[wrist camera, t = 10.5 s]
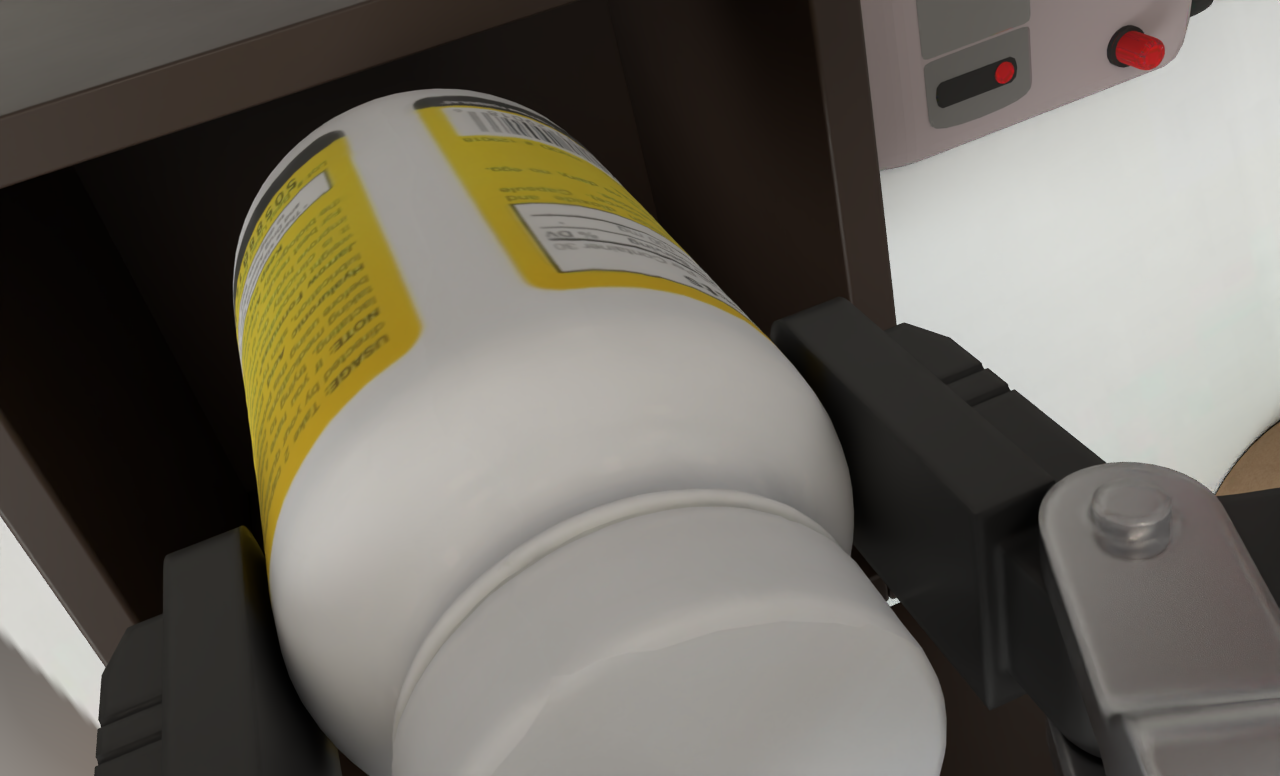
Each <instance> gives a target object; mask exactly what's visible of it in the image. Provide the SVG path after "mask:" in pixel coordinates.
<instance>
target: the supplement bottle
mask: <svg viewBox="0 0 1280 776" xmlns="http://www.w3.org/2000/svg"><path fill="white" fill-rule="evenodd" d="M233 302H234V316H235V327H236V333H237V342H238V349H239V355H240V361H241V368H242V374H243V380H244V387H245V393H246V403H247V409H248V419H249V426H250V433H251V439H252V448H253V458H254V467H255V472H256V479H257V488H258V496H259V505H260V515H261V523H262V532H263V543H264V552H265V559H266V569H267V578H268V588H269V596H270V602H271V607H272V612H273V616H274V621H275V626H276V630H277V635H278V640H279V644H280V649H281V653H282V656H283V659H284V662H285V665H286V669H287V672H288V675H289V677H290V679H291V681H292V684H293V686H294V688H295V690H296V692H297V694H298V696H299V698H300V700H301V702H302V703H303V705H304V706H305V708H306V709H307V711H308V712H309V713H310V715H311V716H312V718H313V719H314V721H315V722H316V723H317V725H318V726H319V728H320V729H321V730H322V731H323V732H324V734H325V735H326V736H327V737H328V738H329V739H330V741H331V742H332V743H333V744H334V745H335V746H336V747H337V748H338V749H339V750H340V751H341V752H342V753H343V754H344V755H345V756H346V757H347V758H348V759H349V760H350V761H351V762H353V763H354V764H355V765H356V766H357V767H359V768H360V769H361V770H363V771H364V772H365V773H366V774H368V775H369V776H940V772H941V768H942V764H943V760H944V755H945V749H946V726H947V717H946V709H945V701H944V696H943V693H942V689H941V686H940V683H939V680H938V677H937V675H936V673H935V671H934V669H933V667H932V665H931V663H930V662H929V660H928V658H927V656H926V654H925V652H924V651H923V649H922V647H921V646H920V645H919V644H918V642H917V641H916V640H915V639H914V637H913V636H912V635H911V634H910V632H909V631H908V630H907V629H906V627H905V626H904V625H903V624H902V622H901V621H900V620H899V618H898V617H897V616H896V614H895V613H894V612H893V610H892V609H891V608H890V606H889V605H888V603H887V602H886V601H885V599H884V598H883V597H882V595H881V594H880V593H879V592H878V590H877V589H876V588H875V586H874V585H873V584H872V583H871V581H870V580H869V579H868V577H867V576H866V575H865V573H864V572H863V571H862V569H861V568H860V567H859V565H858V564H857V563H856V562H855V561H854V560H853V559H852V558H851V550H852V544H853V532H854V505H853V492H852V484H851V479H850V473H849V468H848V465H847V462H846V458H845V455H844V452H843V449H842V445H841V443H840V441H839V438H838V436H837V433H836V431H835V428H834V426H833V423H832V421H831V419H830V417H829V415H828V413H827V412H826V410H825V408H824V407H823V405H822V403H821V402H820V400H819V399H818V397H817V396H816V394H815V392H814V391H813V390H812V388H811V387H810V386H809V385H808V383H807V382H806V381H805V379H804V378H803V377H802V376H801V374H800V373H799V372H798V371H797V369H796V368H795V367H794V365H793V364H792V363H791V362H790V361H789V360H788V359H787V358H786V356H785V355H784V354H783V353H782V352H781V351H780V350H779V349H778V348H777V346H776V345H775V344H774V343H773V342H772V341H771V340H770V339H769V338H768V337H767V336H766V335H765V334H764V333H763V332H762V331H761V330H760V329H759V328H758V327H757V326H756V325H755V324H754V323H753V322H752V321H751V320H750V319H749V318H748V317H747V315H746V314H745V313H744V312H743V311H742V310H741V309H740V308H739V307H738V306H737V305H736V304H735V303H734V302H733V301H732V300H731V299H730V298H729V297H728V296H727V295H726V294H725V293H724V292H723V291H722V290H721V289H720V288H719V286H718V285H717V284H716V283H715V282H714V281H713V280H712V279H711V278H710V277H709V276H708V275H707V273H705V272H704V271H703V270H702V269H701V268H700V267H699V266H698V264H697V263H696V262H695V261H694V260H693V259H692V258H691V257H690V256H689V255H688V254H687V253H686V252H685V251H684V249H683V248H682V247H681V246H680V245H679V244H678V243H677V242H676V241H675V240H674V239H673V238H672V237H671V236H670V235H669V234H668V233H667V232H666V231H665V230H664V229H663V228H662V227H661V225H660V224H659V223H658V222H657V221H656V220H655V219H654V218H653V217H652V216H651V215H650V214H649V213H648V212H647V211H646V210H645V209H644V208H643V206H642V205H641V204H640V203H639V202H638V201H637V200H636V199H635V198H634V197H633V196H632V195H631V194H630V193H629V192H628V191H627V190H626V189H625V188H624V187H623V186H622V185H621V184H620V183H619V181H618V180H617V179H616V178H615V177H613V175H612V174H611V173H610V172H609V171H608V170H607V169H606V168H605V167H604V166H603V165H602V164H601V163H600V162H599V161H598V159H597V158H596V157H595V156H594V155H593V154H592V153H591V152H590V151H589V150H587V149H586V148H585V147H584V146H583V145H582V144H581V143H580V142H578V141H577V140H576V139H575V138H573V137H572V136H571V135H569V134H568V133H567V132H566V131H564V130H563V129H562V128H560V127H559V126H557V125H556V124H554V123H553V122H552V121H550V120H549V119H547V118H546V117H544V116H542V115H541V114H539V113H537V112H535V111H533V110H531V109H529V108H527V107H524V106H522V105H520V104H517V103H515V102H512V101H509V100H506V99H503V98H500V97H497V96H493V95H490V94H485V93H480V92H475V91H470V90H460V89H425V90H415V91H408V92H402V93H396V94H392V95H388V96H385V97H381V98H378V99H374V100H372V101H369V102H366V103H364V104H362V105H359V106H357V107H354V108H352V109H350V110H348V111H346V112H344V113H342V114H340V115H338V116H336V117H334V118H333V119H331V120H329V121H328V122H326V123H324V124H323V125H322V126H320V127H319V128H317V129H316V130H314V131H313V132H312V133H310V134H309V135H308V136H307V137H305V138H304V139H303V140H302V141H301V142H299V143H298V144H297V145H296V146H295V147H294V148H293V149H292V150H291V151H290V152H289V153H288V154H287V155H286V156H285V157H284V158H283V159H282V160H281V162H280V163H279V164H278V165H277V166H276V168H275V169H274V170H273V171H272V172H271V174H270V175H269V177H268V178H267V179H266V181H265V182H264V184H263V185H262V187H261V189H260V190H259V192H258V194H257V196H256V197H255V199H254V201H253V203H252V205H251V207H250V210H249V212H248V214H247V216H246V219H245V221H244V224H243V227H242V231H241V234H240V237H239V241H238V246H237V250H236V256H235V265H234V277H233Z"/></svg>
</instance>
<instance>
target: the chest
mask: <svg viewBox="0 0 1280 776" xmlns="http://www.w3.org/2000/svg"><path fill="white" fill-rule="evenodd" d="M425 89H460V90H470V91H475V92H480V93H485V94H490V95H493V96H497V97H500V98H503V99H506V100H509V101H512V102H515V103H517V104H520V105H522V106H524V107H527V108H529V109H531V110H533V111H535V112H537V113H539V114H541V115H542V116H544V117H546V118H547V119H549V120H550V121H552V122H553V123H554V124H556V125H557V126H559V127H560V128H562V129H563V130H564V131H566V132H567V133H568V134H569V135H571V136H572V137H573V138H575V139H576V140H577V141H578V142H580V143H581V144H582V145H583V146H584V147H585V148H586V149H587V150H589V151H590V152H591V153H592V154H593V155H594V156H595V157H596V158H597V159H598V161H599V162H600V163H601V164H602V165H603V166H604V167H605V168H606V169H607V170H608V171H609V172H610V173H611V174H612V175H613V177H615V178H616V179H617V180H618V181H619V183H620V184H621V185H622V186H623V187H624V188H625V189H626V190H627V191H628V192H629V193H630V194H631V195H632V196H633V197H634V198H635V199H636V200H637V201H638V202H639V203H640V204H641V205H642V206H643V208H644V209H645V210H646V211H647V212H648V213H649V214H650V215H651V216H652V217H653V218H654V219H655V220H656V221H657V222H658V223H659V224H660V225H661V227H662V228H663V229H664V230H665V231H666V232H667V233H668V234H669V235H670V236H671V237H672V238H673V239H674V240H675V241H676V242H677V243H678V244H679V245H680V246H681V247H682V248H683V249H684V251H685V252H686V253H687V254H688V255H689V256H690V257H691V258H692V259H693V260H694V261H695V262H696V263H697V264H698V266H699V267H700V268H701V269H702V270H703V271H704V272H705V273H707V275H708V276H709V277H710V278H711V279H712V280H713V281H714V282H715V283H716V284H717V285H718V286H719V288H720V289H721V290H722V291H723V292H724V293H725V294H726V295H727V296H728V297H729V298H730V299H731V300H732V301H733V302H734V303H735V304H736V305H737V306H738V307H739V308H740V309H741V310H742V311H743V312H744V313H745V314H746V315H747V317H748V318H749V319H750V320H751V321H752V322H753V323H754V324H755V325H756V326H757V327H758V328H759V329H760V330H761V331H762V332H763V333H764V334H765V335H766V336H767V337H768V338H769V339H770V340H771V326H772V324H773V322H774V321H777V320H779V319H782V318H784V317H787V316H790V315H792V314H795V313H797V312H800V311H803V310H805V309H808V308H810V307H813V306H815V305H818V304H821V303H823V302H826V301H828V300H831V299H834V298H836V297H843V298H845V299H847V300H848V301H850V302H851V303H852V304H853V305H854V306H855V307H856V308H858V309H859V310H860V311H861V312H862V313H863V314H865V315H866V316H867V317H868V318H869V319H870V320H871V321H873V322H874V323H875V324H876V325H877V326H878V327H880V328H881V329H882V330H883V331H884V330H887V329H889V328H892V327H894V326H897V324H896V315H895V306H894V297H893V288H892V279H891V271H890V262H889V253H888V244H887V235H886V226H885V217H884V208H883V199H882V190H881V181H880V172H879V163H878V154H877V145H876V136H875V127H874V118H873V109H872V100H871V91H870V82H869V73H868V64H867V55H866V46H865V37H864V28H863V19H862V10H861V1H860V0H0V516H1V518H2V519H3V520H4V522H5V523H6V525H7V526H8V528H9V529H10V531H11V532H12V533H13V535H14V536H15V538H16V539H17V541H18V542H19V543H20V545H21V546H22V548H23V549H24V551H25V552H26V554H27V555H28V556H29V558H30V559H31V561H32V562H33V564H34V565H35V566H36V568H37V569H38V571H39V572H40V574H41V575H42V576H43V578H44V579H45V581H46V582H47V584H48V585H49V587H50V588H51V589H52V591H53V592H54V594H55V595H56V597H57V598H58V599H59V601H60V602H61V604H62V605H63V607H64V608H65V610H66V611H67V612H68V614H69V615H70V617H71V618H72V620H73V621H74V622H75V624H76V625H77V627H78V628H79V630H80V631H81V633H82V634H83V635H84V637H85V638H86V640H87V641H88V643H89V644H90V645H91V647H92V648H93V650H94V651H95V653H96V654H97V656H98V657H99V658H100V660H101V661H102V663H103V664H104V666H105V667H106V666H107V664H108V663H109V661H110V659H111V657H112V655H113V653H114V651H115V650H116V648H117V646H118V644H119V642H120V640H121V638H122V637H123V635H124V633H125V631H126V629H127V628H128V627H130V626H133V625H135V624H138V623H140V622H143V621H145V620H148V619H150V618H153V617H156V616H158V615H161V614H163V565H164V559H165V556H166V555H168V554H170V553H173V552H175V551H178V550H181V549H183V548H186V547H188V546H191V545H193V544H196V543H199V542H201V541H204V540H206V539H209V538H212V537H214V536H217V535H219V534H222V533H224V532H227V531H230V530H232V529H235V528H237V527H240V526H245V527H246V528H247V529H248V530H249V531H250V532H251V533H252V535H253V536H254V538H255V540H256V541H257V543H258V545H259V547H260V548H261V550H262V552H263V554H264V556H265V552H264V543H263V532H262V523H261V515H260V505H259V496H258V488H257V479H256V472H255V467H254V458H253V448H252V439H251V433H250V426H249V419H248V409H247V403H246V393H245V387H244V380H243V374H242V368H241V361H240V355H239V349H238V342H237V333H236V327H235V316H234V302H233V277H234V265H235V256H236V250H237V246H238V241H239V237H240V234H241V231H242V227H243V224H244V221H245V219H246V216H247V214H248V212H249V210H250V207H251V205H252V203H253V201H254V199H255V197H256V196H257V194H258V192H259V190H260V189H261V187H262V185H263V184H264V182H265V181H266V179H267V178H268V177H269V175H270V174H271V172H272V171H273V170H274V169H275V168H276V166H277V165H278V164H279V163H280V162H281V160H282V159H283V158H284V157H285V156H286V155H287V154H288V153H289V152H290V151H291V150H292V149H293V148H294V147H295V146H296V145H297V144H298V143H299V142H301V141H302V140H303V139H304V138H305V137H307V136H308V135H309V134H310V133H312V132H313V131H314V130H316V129H317V128H319V127H320V126H322V125H323V124H324V123H326V122H328V121H329V120H331V119H333V118H334V117H336V116H338V115H340V114H342V113H344V112H346V111H348V110H350V109H352V108H354V107H357V106H359V105H362V104H364V103H366V102H369V101H372V100H374V99H378V98H381V97H385V96H388V95H392V94H396V93H402V92H408V91H415V90H425ZM851 558H852V559H853V560H854V561H855V562H856V563H857V564H858V565H859V567H860V568H861V569H862V571H863V572H864V573H865V575H866V576H867V577H868V579H869V580H870V581H871V583H872V584H873V585H874V586H875V588H876V589H877V590H878V592H879V593H880V594H881V595H882V597H883V598H884V599H885V601H888V599H889V597H890V598H891V599H895V598H897V597H896V596H895V595H894V594H893V592H892V591H891V590H890V589H889V587H888V586H887V585H886V584H885V583H884V581H883V580H882V579H881V578H880V576H879V575H878V574H877V573H876V572H875V570H874V569H873V568H872V567H871V565H870V564H869V563H868V562H867V561H866V559H865V558H864V557H863V556H862V555H861V553H860V552H859V551H858V550H857V548H856V547H855V546H854V545H853V544H852V550H851ZM338 753H339V759H340V765H341V771H342V776H369V775H368V774H366V773H365V772H364V771H363V770H361V769H360V768H359V767H357V766H356V765H355V764H354V763H353V762H351V761H350V760H349V759H348V758H347V757H346V756H345V755H344V754H343V753H342V752H341V751H340V750H339V749H338Z"/></svg>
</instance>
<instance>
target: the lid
mask: <svg viewBox="0 0 1280 776" xmlns="http://www.w3.org/2000/svg"><path fill="white" fill-rule="evenodd" d="M890 608H891V609H892V610H893V612H894V613H895V614H896V616H897V617H898V618H899V620H900V621H901V622H902V624H903V625H904V626H905V627H906V629H907V630H908V631H909V632H910V634H911V635H912V636H913V637H914V639H915V640H916V641H917V642H918V644H919V645H920V646H921V647H922V649H923V651H924V652H925V654H926V656H927V658H928V660H929V662H930V663H931V665H932V667H933V669H934V671H935V673H936V675H937V677H938V680H939V683H940V686H941V689H942V693H943V696H944V701H945V709H946V717H947V726H946V749H945V755H944V760H943V764H942V768H941V772H940V776H1056V774H1055V771H1054V767H1053V764H1052V760H1051V757H1050V753H1049V750H1048V745H1047V739H1046V716H1045V714H1044V712H1043V711H1042V710H1041V709H1040V708H1039V707H1038V706H1037V704H1036V703H1035V702H1034V701H1033V700H1032V699H1031V698H1030V696H1029V695H1028V694H1025V695H1023V696H1021V697H1019V698H1017V699H1015V700H1012V701H1010V702H1008V703H1006V704H1004V705H1002V706H999V707H997V708H995V709H993V710H991V711H989V709H988V708H987V707H986V706H985V704H984V703H983V702H982V701H981V700H980V698H979V697H978V696H977V695H976V693H975V692H974V691H973V690H972V689H971V687H970V686H969V685H968V684H967V683H966V681H965V680H964V679H963V678H962V676H961V675H960V674H959V673H958V672H957V670H956V669H955V668H954V667H953V665H952V664H951V663H950V662H949V661H948V659H947V658H946V657H945V656H944V654H943V653H942V652H941V651H940V650H939V648H938V647H937V646H936V645H935V644H934V642H933V641H932V640H931V639H930V637H929V636H928V635H927V634H926V633H925V631H924V630H923V629H922V628H921V626H920V625H919V624H918V623H917V622H916V620H915V619H914V618H913V617H912V615H911V614H910V613H909V612H908V611H907V609H906V608H905V607H904V606H903V604H902V603H901V602H900V603H898V604H895V605H893V606H891V607H890Z"/></svg>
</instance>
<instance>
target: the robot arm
mask: <svg viewBox="0 0 1280 776" xmlns="http://www.w3.org/2000/svg"><path fill="white" fill-rule="evenodd" d="M771 341H772V342H773V343H774V344H775V345H776V346H777V348H778V349H779V350H780V351H781V352H782V353H783V354H784V355H785V356H786V358H787V359H788V360H789V361H790V362H791V363H792V364H793V365H794V367H795V368H796V369H797V371H798V372H799V373H800V374H801V376H802V377H803V378H804V379H805V381H806V382H807V383H808V385H809V386H810V387H811V388H812V390H813V391H814V392H815V394H816V396H817V397H818V399H819V400H820V402H821V403H822V405H823V407H824V408H825V410H826V412H827V413H828V415H829V417H830V419H831V421H832V423H833V426H834V428H835V431H836V433H837V436H838V438H839V441H840V443H841V445H842V449H843V452H844V455H845V458H846V462H847V465H848V468H849V473H850V479H851V484H852V492H853V505H854V532H853V545H854V546H855V547H856V548H857V550H858V551H859V552H860V553H861V555H862V556H863V557H864V558H865V559H866V561H867V562H868V563H869V564H870V565H871V567H872V568H873V569H874V570H875V572H876V573H877V574H878V575H879V576H880V578H881V579H882V580H883V581H884V583H885V584H886V585H887V586H888V587H889V589H890V590H891V591H892V592H893V594H894V595H895V596H896V597H897V598H898V600H899V601H900V602H901V603H902V604H903V606H904V607H905V608H906V609H907V611H908V612H909V613H910V614H911V615H912V617H913V618H914V619H915V620H916V622H917V623H918V624H919V625H920V626H921V628H922V629H923V630H924V631H925V633H926V634H927V635H928V636H929V637H930V639H931V640H932V641H933V642H934V644H935V645H936V646H937V647H938V648H939V650H940V651H941V652H942V653H943V654H944V656H945V657H946V658H947V659H948V661H949V662H950V663H951V664H952V665H953V667H954V668H955V669H956V670H957V672H958V673H959V674H960V675H961V676H962V678H963V679H964V680H965V681H966V683H967V684H968V685H969V686H970V687H971V689H972V690H973V691H974V692H975V693H976V695H977V696H978V697H979V698H980V700H981V701H982V702H983V703H984V704H985V706H986V707H987V708H988V709H989V711H991V710H993V709H995V708H997V707H999V706H1002V705H1004V704H1006V703H1008V702H1010V701H1012V700H1015V699H1017V698H1019V697H1021V696H1023V695H1025V694H1028V695H1029V696H1030V698H1031V699H1032V700H1033V701H1034V702H1035V703H1036V704H1037V706H1038V707H1039V708H1040V709H1041V710H1042V711H1043V712H1044V714H1045V716H1046V739H1047V745H1048V750H1049V753H1050V757H1051V760H1052V764H1053V767H1054V771H1055V774H1056V776H1280V487H1279V488H1273V489H1266V490H1260V491H1253V492H1247V493H1241V494H1232V495H1223V496H1215V495H1214V494H1213V493H1212V492H1211V491H1210V490H1209V489H1208V488H1207V487H1205V486H1204V485H1202V484H1201V483H1200V482H1198V481H1197V480H1195V479H1193V478H1191V477H1189V476H1187V475H1185V474H1183V473H1180V472H1178V471H1175V470H1172V469H1169V468H1166V467H1161V466H1157V465H1153V464H1145V463H1136V462H1117V463H1106V462H1105V461H1103V460H1102V459H1101V458H1100V457H1098V456H1097V455H1096V454H1095V453H1093V452H1092V451H1091V450H1090V449H1088V448H1087V447H1086V446H1085V445H1083V444H1082V443H1081V442H1080V441H1078V440H1077V439H1076V438H1075V437H1073V436H1072V435H1071V434H1070V433H1068V432H1067V431H1066V430H1065V429H1063V428H1062V427H1061V426H1060V425H1058V424H1057V423H1056V422H1055V421H1053V420H1052V419H1051V418H1050V417H1048V416H1047V415H1046V414H1045V413H1043V412H1042V411H1041V410H1040V409H1038V408H1037V407H1036V406H1035V405H1033V404H1032V403H1031V402H1030V401H1028V400H1027V399H1026V398H1025V397H1023V396H1022V395H1021V394H1020V393H1018V392H1017V391H1016V390H1015V389H1014V390H1012V391H1011V390H1010V389H1009V387H1008V384H1007V383H1006V382H1005V381H1003V380H1002V379H1001V378H1000V377H998V376H997V375H996V374H995V373H993V372H992V371H991V370H990V369H988V368H987V369H985V370H984V368H983V366H982V363H981V362H980V361H978V360H977V359H976V358H975V357H973V356H972V355H971V354H970V353H968V352H967V351H966V350H965V349H963V348H962V347H961V346H960V345H958V344H957V343H956V342H955V341H953V340H952V339H951V338H949V337H946V336H943V335H940V334H937V333H934V332H931V331H928V330H925V329H922V328H919V327H916V326H913V325H910V324H907V323H902V324H899V325H897V326H894V327H892V328H889V329H887V330H884V331H883V330H882V329H881V328H880V327H878V326H877V325H876V324H875V323H874V322H873V321H871V320H870V319H869V318H868V317H867V316H866V315H865V314H863V313H862V312H861V311H860V310H859V309H858V308H856V307H855V306H854V305H853V304H852V303H851V302H850V301H848V300H847V299H845V298H843V297H836V298H834V299H831V300H828V301H826V302H823V303H821V304H818V305H815V306H813V307H810V308H808V309H805V310H803V311H800V312H797V313H795V314H792V315H790V316H787V317H784V318H782V319H779V320H777V321H774V322H773V324H772V326H771ZM98 720H99V722H100V724H101V728H99V729H98V733H97V747H96V758H97V761H98V766H96V767H95V774H94V776H342V771H341V765H340V759H339V753H338V748H337V747H336V746H335V745H334V744H333V743H332V742H331V741H330V739H329V738H328V737H327V736H326V735H325V734H324V732H323V731H322V730H321V729H320V728H319V726H318V725H317V723H316V722H315V721H314V719H313V718H312V716H311V715H310V713H309V712H308V711H307V709H306V708H305V706H304V705H303V703H302V702H301V700H300V698H299V696H298V694H297V692H296V690H295V688H294V686H293V684H292V681H291V679H290V677H289V675H288V672H287V669H286V665H285V662H284V659H283V656H282V653H281V649H280V644H279V640H278V635H277V630H276V626H275V621H274V616H273V612H272V607H271V602H270V596H269V588H268V578H267V569H266V559H265V556H264V554H263V552H262V550H261V548H260V547H259V545H258V543H257V541H256V540H255V538H254V536H253V535H252V533H251V532H250V531H249V530H248V529H247V528H246V527H245V526H240V527H237V528H235V529H232V530H230V531H227V532H224V533H222V534H219V535H217V536H214V537H212V538H209V539H206V540H204V541H201V542H199V543H196V544H193V545H191V546H188V547H186V548H183V549H181V550H178V551H175V552H173V553H170V554H168V555H166V556H165V559H164V565H163V614H161V615H158V616H156V617H153V618H150V619H148V620H145V621H143V622H140V623H138V624H135V625H133V626H130V627H128V628H127V629H126V631H125V633H124V635H123V637H122V638H121V640H120V642H119V644H118V646H117V648H116V650H115V651H114V653H113V655H112V657H111V659H110V661H109V663H108V664H107V666H106V668H105V670H104V672H103V674H102V678H101V692H100V705H99V719H98Z"/></svg>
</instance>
